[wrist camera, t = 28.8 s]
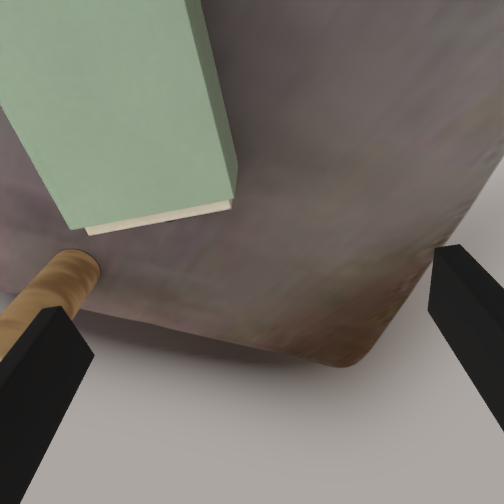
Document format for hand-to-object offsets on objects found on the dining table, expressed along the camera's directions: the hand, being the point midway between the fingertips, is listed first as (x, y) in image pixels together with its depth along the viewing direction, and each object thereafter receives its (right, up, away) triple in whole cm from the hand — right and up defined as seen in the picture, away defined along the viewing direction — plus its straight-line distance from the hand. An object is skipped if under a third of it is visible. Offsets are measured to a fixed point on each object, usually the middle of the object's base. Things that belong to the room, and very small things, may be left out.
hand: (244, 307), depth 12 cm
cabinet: (-9, +16, +17) cm, 25 cm away
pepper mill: (-20, 0, +27) cm, 34 cm away
